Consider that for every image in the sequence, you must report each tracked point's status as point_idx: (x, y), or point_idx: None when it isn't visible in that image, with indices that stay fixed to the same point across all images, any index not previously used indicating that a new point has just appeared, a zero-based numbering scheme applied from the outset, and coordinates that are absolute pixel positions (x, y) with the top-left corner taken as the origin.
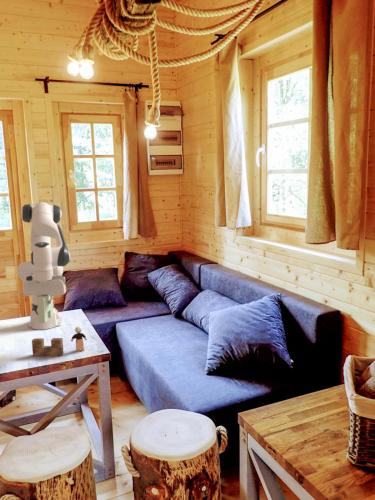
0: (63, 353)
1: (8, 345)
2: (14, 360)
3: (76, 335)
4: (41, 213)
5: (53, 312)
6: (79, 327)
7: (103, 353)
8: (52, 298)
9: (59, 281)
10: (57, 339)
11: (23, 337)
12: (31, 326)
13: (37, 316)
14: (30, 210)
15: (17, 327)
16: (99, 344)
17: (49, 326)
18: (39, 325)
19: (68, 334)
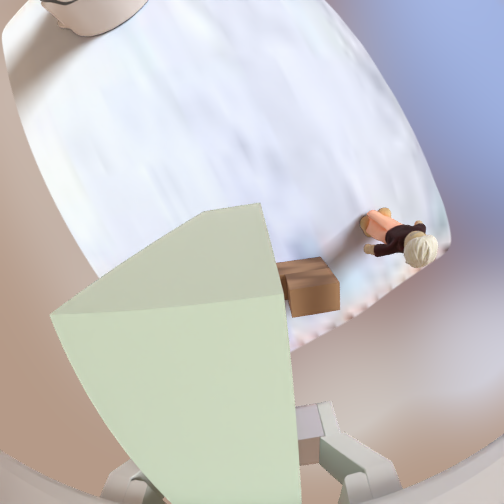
0: (320, 257)
1: (66, 201)
2: None
3: (399, 251)
4: None
5: (260, 204)
6: (433, 256)
7: (447, 243)
8: (361, 455)
9: None
10: (321, 304)
11: (75, 114)
12: (70, 28)
13: (71, 8)
14: None
15: (34, 48)
16: (422, 158)
17: (135, 5)
18: (96, 23)
19: (249, 43)
